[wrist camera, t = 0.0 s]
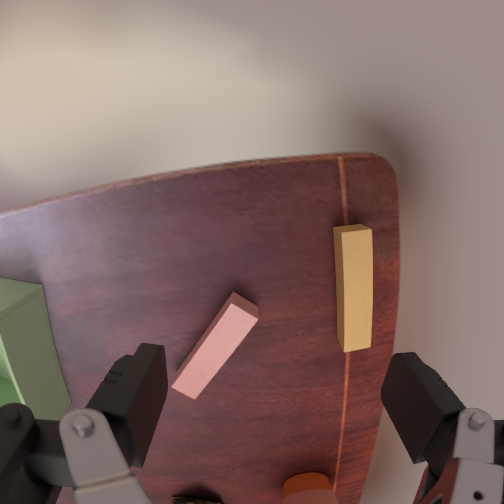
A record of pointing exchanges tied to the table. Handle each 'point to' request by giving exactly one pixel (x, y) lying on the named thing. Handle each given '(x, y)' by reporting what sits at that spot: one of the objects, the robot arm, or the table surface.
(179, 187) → the table surface
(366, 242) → the mustard wooden beam
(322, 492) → the cup with straw
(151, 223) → the table surface
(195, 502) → the seashell
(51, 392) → the bin
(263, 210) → the table surface
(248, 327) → the pink stick
